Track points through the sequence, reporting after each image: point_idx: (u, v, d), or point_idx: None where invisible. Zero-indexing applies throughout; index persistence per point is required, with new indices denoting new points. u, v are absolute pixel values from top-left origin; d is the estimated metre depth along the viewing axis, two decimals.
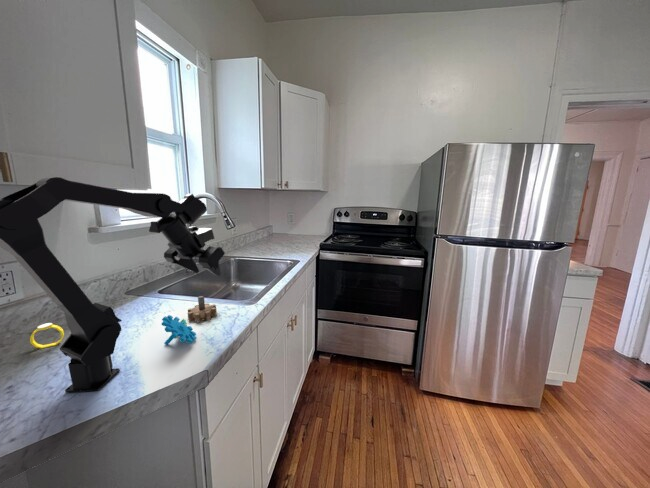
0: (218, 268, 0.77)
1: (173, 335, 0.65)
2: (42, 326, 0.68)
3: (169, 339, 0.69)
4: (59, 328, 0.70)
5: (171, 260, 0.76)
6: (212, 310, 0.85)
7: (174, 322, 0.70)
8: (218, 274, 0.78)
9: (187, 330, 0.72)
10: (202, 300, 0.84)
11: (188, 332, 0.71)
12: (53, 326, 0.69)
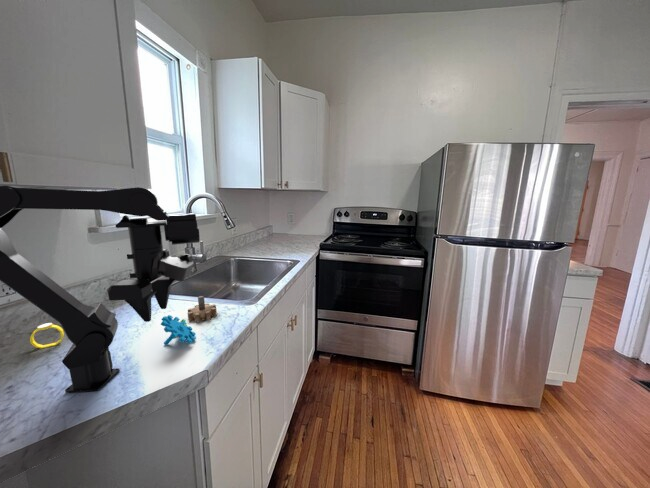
0: (145, 310, 0.55)
1: (172, 335, 0.65)
2: (42, 326, 0.68)
3: (168, 339, 0.69)
4: (59, 328, 0.70)
5: None
6: (212, 310, 0.85)
7: (174, 322, 0.70)
8: (144, 318, 0.56)
9: (187, 330, 0.72)
10: (202, 300, 0.84)
11: (188, 332, 0.71)
12: (53, 326, 0.69)
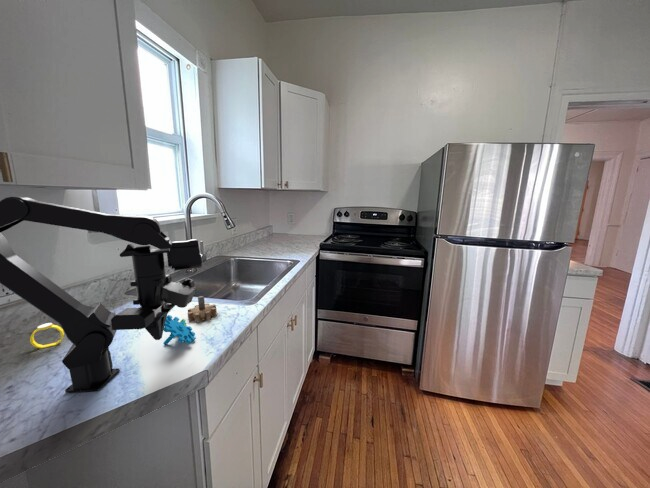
0: (156, 330, 0.59)
1: (171, 335, 0.65)
2: (42, 326, 0.68)
3: (168, 339, 0.69)
4: (59, 328, 0.70)
5: None
6: (212, 310, 0.85)
7: (173, 322, 0.70)
8: (154, 336, 0.60)
9: (186, 330, 0.72)
10: (202, 300, 0.84)
11: (187, 332, 0.71)
12: (53, 326, 0.69)
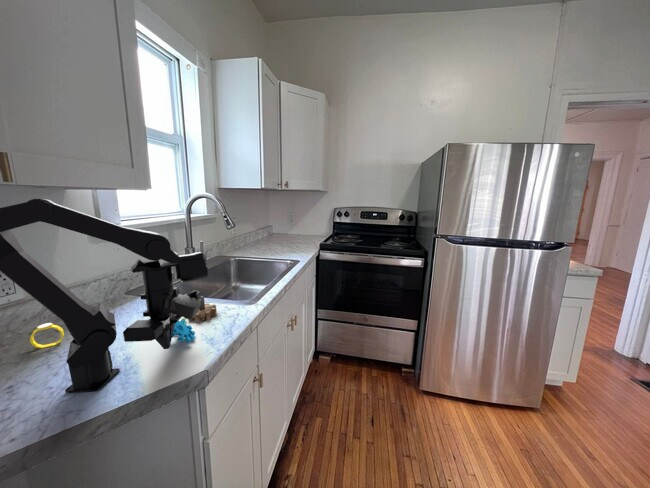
0: (164, 340, 0.62)
1: None
2: (42, 326, 0.68)
3: None
4: (59, 328, 0.70)
5: None
6: (212, 310, 0.85)
7: None
8: (163, 346, 0.63)
9: (186, 329, 0.72)
10: (202, 300, 0.84)
11: (187, 331, 0.71)
12: (53, 326, 0.69)
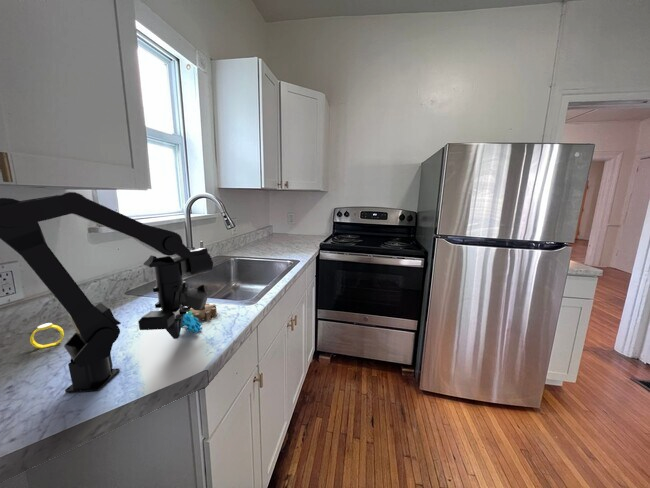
0: (174, 330, 0.67)
1: None
2: (42, 326, 0.68)
3: None
4: (59, 328, 0.70)
5: None
6: (212, 310, 0.85)
7: None
8: (173, 336, 0.68)
9: (193, 321, 0.77)
10: None
11: (194, 322, 0.76)
12: (53, 326, 0.69)
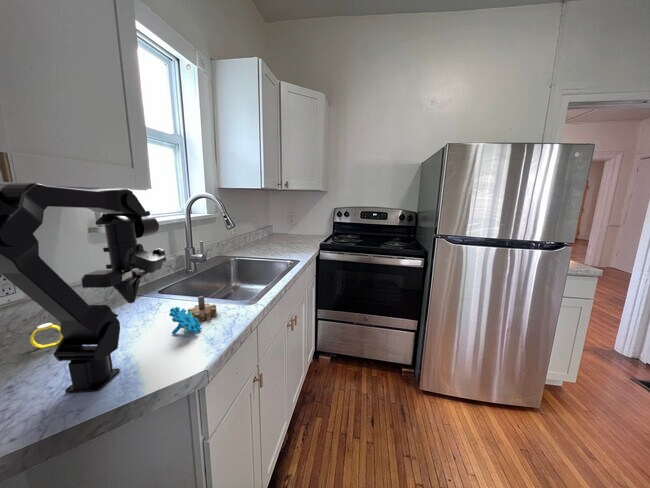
0: (128, 293, 0.65)
1: (179, 325, 0.71)
2: (42, 326, 0.68)
3: (176, 329, 0.74)
4: (59, 328, 0.70)
5: None
6: (212, 310, 0.85)
7: (181, 313, 0.75)
8: (127, 299, 0.66)
9: (193, 321, 0.77)
10: (202, 300, 0.84)
11: (194, 323, 0.76)
12: (53, 326, 0.69)
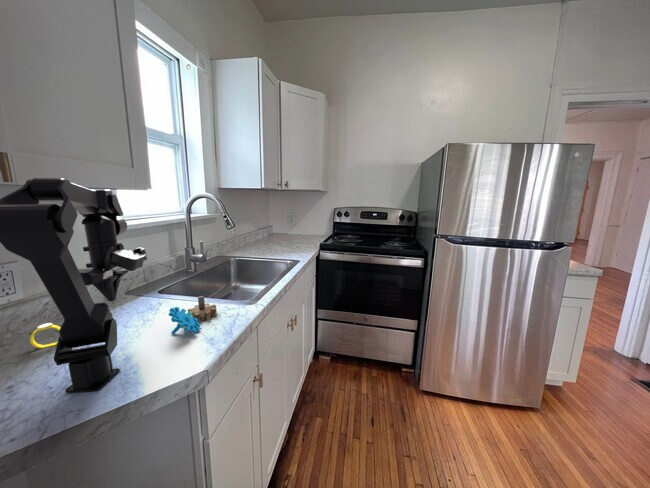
0: (108, 292, 0.66)
1: (178, 325, 0.70)
2: (42, 326, 0.68)
3: (176, 329, 0.75)
4: (59, 328, 0.70)
5: None
6: (212, 310, 0.85)
7: (180, 313, 0.75)
8: (108, 298, 0.67)
9: (192, 321, 0.77)
10: (202, 300, 0.84)
11: (193, 323, 0.76)
12: (53, 326, 0.69)
